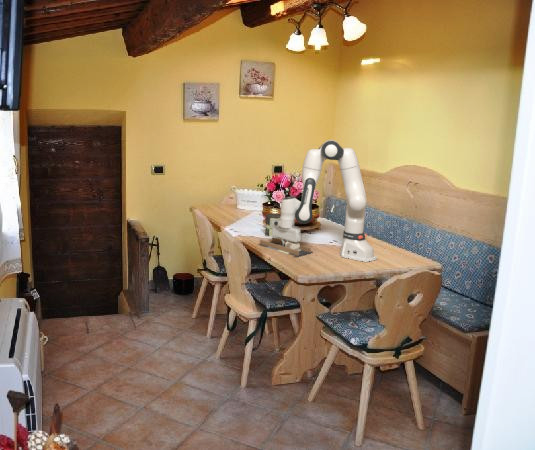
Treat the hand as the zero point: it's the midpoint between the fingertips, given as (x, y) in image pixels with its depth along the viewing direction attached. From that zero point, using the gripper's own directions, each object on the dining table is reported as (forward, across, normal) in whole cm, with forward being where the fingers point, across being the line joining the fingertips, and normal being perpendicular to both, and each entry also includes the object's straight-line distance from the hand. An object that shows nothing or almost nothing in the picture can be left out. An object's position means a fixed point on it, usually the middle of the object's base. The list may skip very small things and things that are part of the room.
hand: (285, 246), depth 323 cm
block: (+1, -6, 0) cm, 6 cm away
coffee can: (+2, +27, -19) cm, 33 cm away
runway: (+2, 0, 0) cm, 2 cm away
